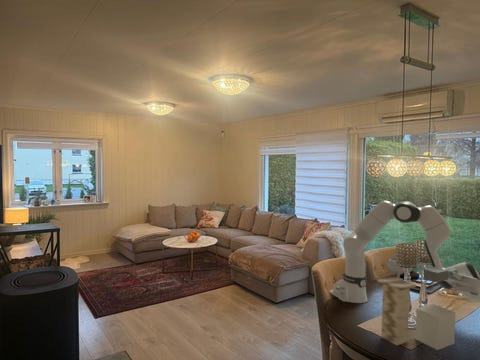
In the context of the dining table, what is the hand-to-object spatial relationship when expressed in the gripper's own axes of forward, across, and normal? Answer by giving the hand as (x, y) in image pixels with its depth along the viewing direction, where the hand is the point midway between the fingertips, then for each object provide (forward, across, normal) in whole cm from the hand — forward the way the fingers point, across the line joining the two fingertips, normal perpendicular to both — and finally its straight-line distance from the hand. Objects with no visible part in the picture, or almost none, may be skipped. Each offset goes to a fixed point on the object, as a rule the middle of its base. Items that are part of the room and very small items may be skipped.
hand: (448, 272), depth 149 cm
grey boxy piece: (+3, 0, +4) cm, 5 cm away
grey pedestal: (-8, 0, +30) cm, 31 cm away
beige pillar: (+5, -9, +38) cm, 39 cm away
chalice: (-57, -61, +2) cm, 84 cm away
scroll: (-71, -65, -6) cm, 97 cm away
